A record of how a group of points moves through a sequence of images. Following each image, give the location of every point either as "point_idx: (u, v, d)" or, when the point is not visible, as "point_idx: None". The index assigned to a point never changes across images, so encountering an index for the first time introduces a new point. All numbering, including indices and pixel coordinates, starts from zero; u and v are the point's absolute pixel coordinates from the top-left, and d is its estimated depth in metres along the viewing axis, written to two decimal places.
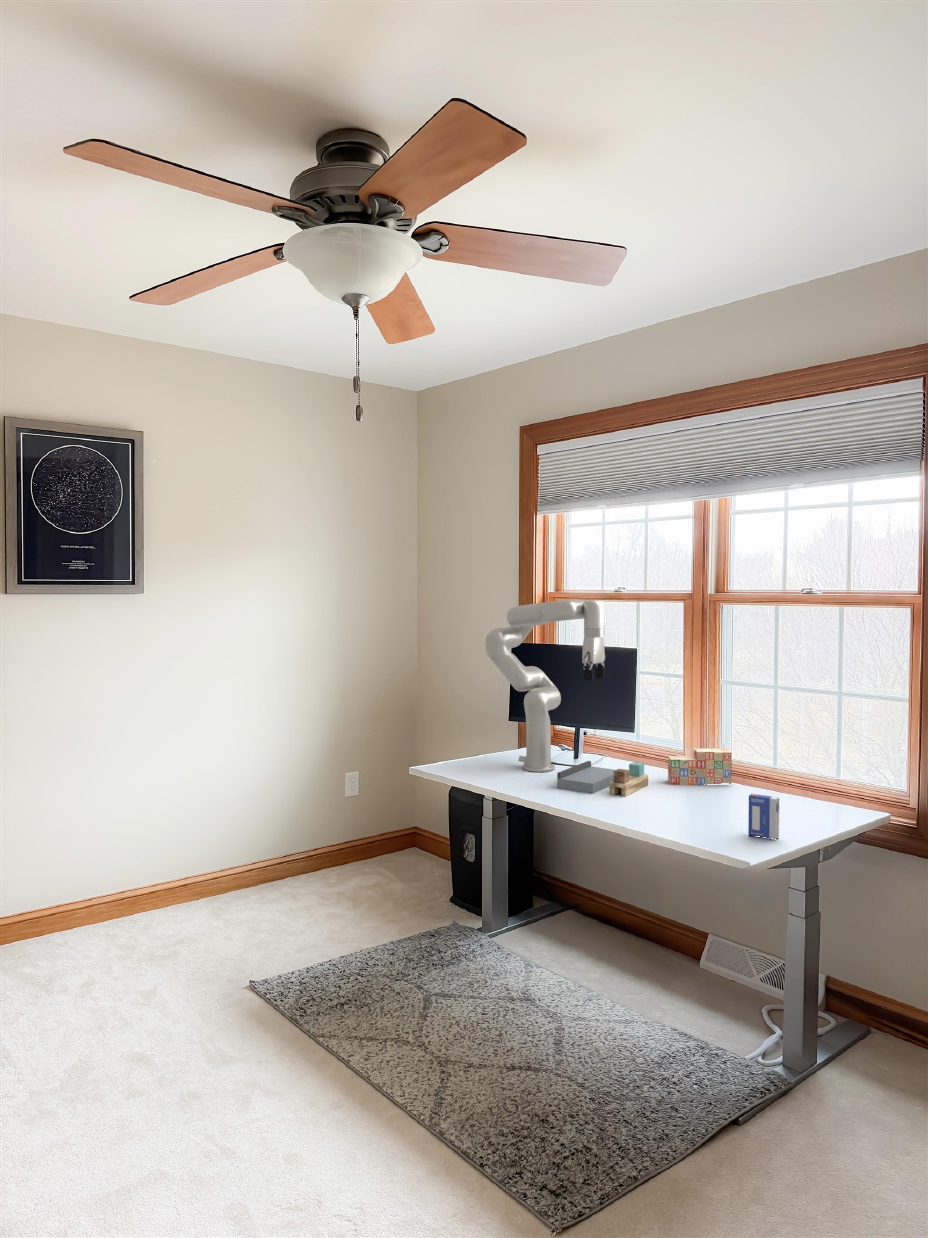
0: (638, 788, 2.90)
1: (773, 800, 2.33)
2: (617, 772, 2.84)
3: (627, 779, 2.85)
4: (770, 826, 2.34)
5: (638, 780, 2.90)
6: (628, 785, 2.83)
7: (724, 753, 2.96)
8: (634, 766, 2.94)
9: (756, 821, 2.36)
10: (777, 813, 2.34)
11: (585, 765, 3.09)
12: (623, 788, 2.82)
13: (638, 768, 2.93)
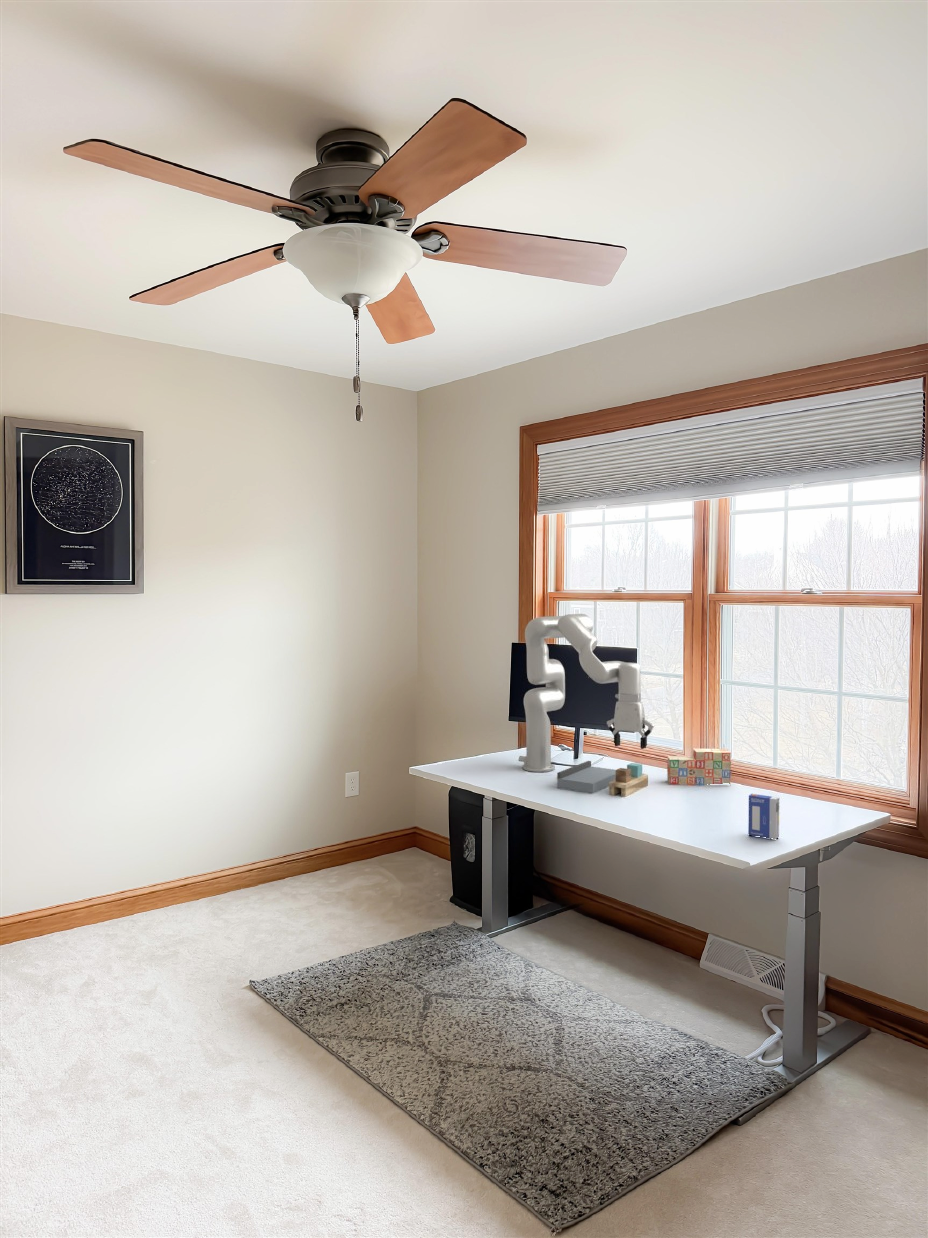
0: (638, 788, 2.90)
1: (773, 800, 2.33)
2: (619, 771, 2.86)
3: (629, 778, 2.86)
4: (770, 826, 2.34)
5: (638, 780, 2.90)
6: (628, 785, 2.83)
7: (723, 753, 2.96)
8: (632, 767, 2.93)
9: (756, 821, 2.36)
10: (777, 813, 2.34)
11: (585, 765, 3.09)
12: (623, 788, 2.82)
13: (636, 768, 2.92)
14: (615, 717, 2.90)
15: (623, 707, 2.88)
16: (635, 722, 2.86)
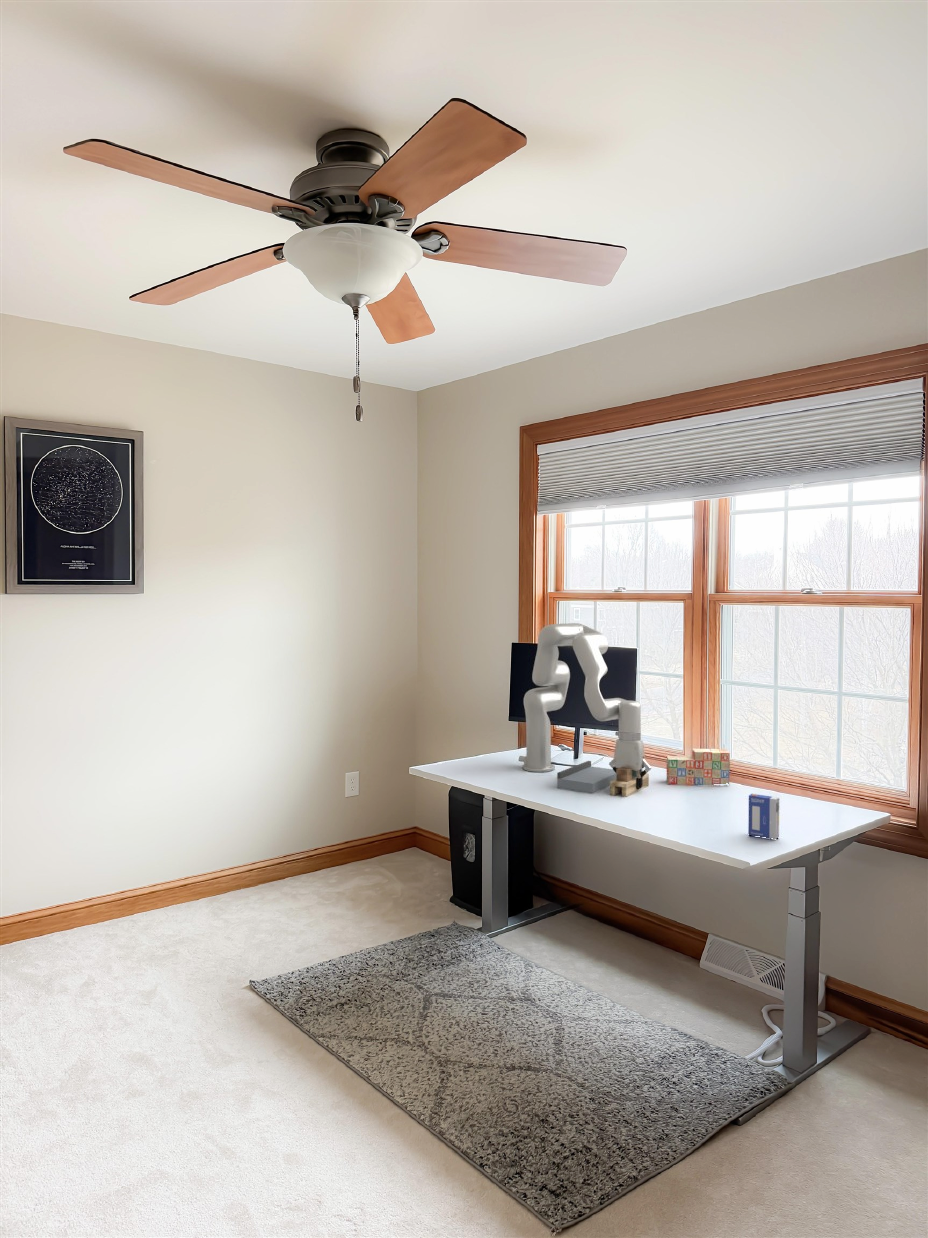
0: None
1: (773, 800, 2.33)
2: (620, 770, 2.86)
3: (630, 777, 2.86)
4: (770, 826, 2.34)
5: None
6: (628, 784, 2.83)
7: (722, 753, 2.95)
8: None
9: (756, 821, 2.36)
10: (777, 813, 2.34)
11: (585, 765, 3.09)
12: (623, 787, 2.82)
13: None
14: (615, 755, 2.91)
15: (623, 745, 2.89)
16: (635, 761, 2.87)
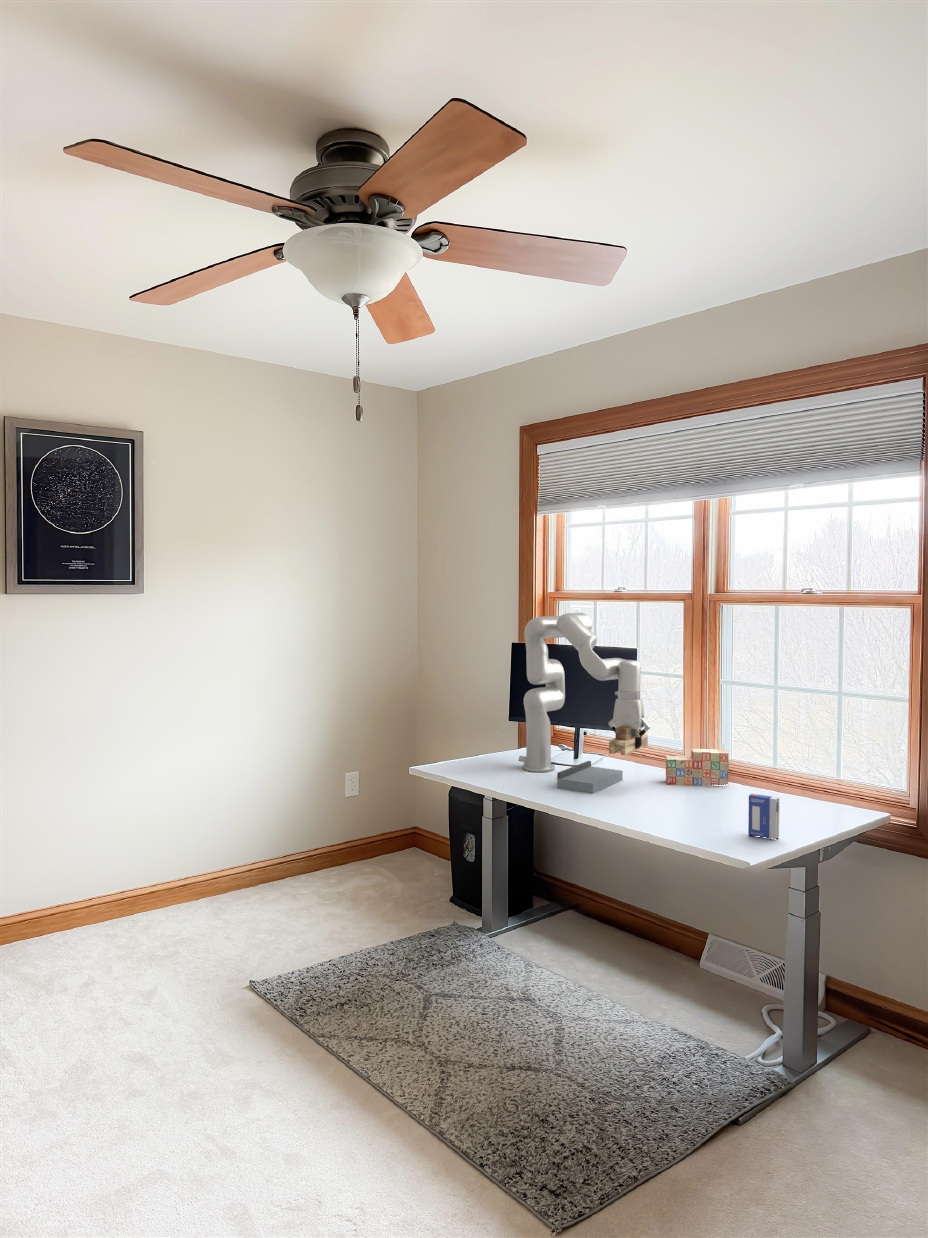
0: None
1: (773, 800, 2.33)
2: (619, 729, 2.85)
3: (629, 736, 2.86)
4: (770, 826, 2.34)
5: None
6: (628, 743, 2.83)
7: (721, 754, 2.95)
8: None
9: (756, 821, 2.36)
10: (777, 813, 2.34)
11: (585, 765, 3.09)
12: (622, 746, 2.82)
13: None
14: (614, 714, 2.91)
15: (623, 704, 2.88)
16: (634, 720, 2.86)
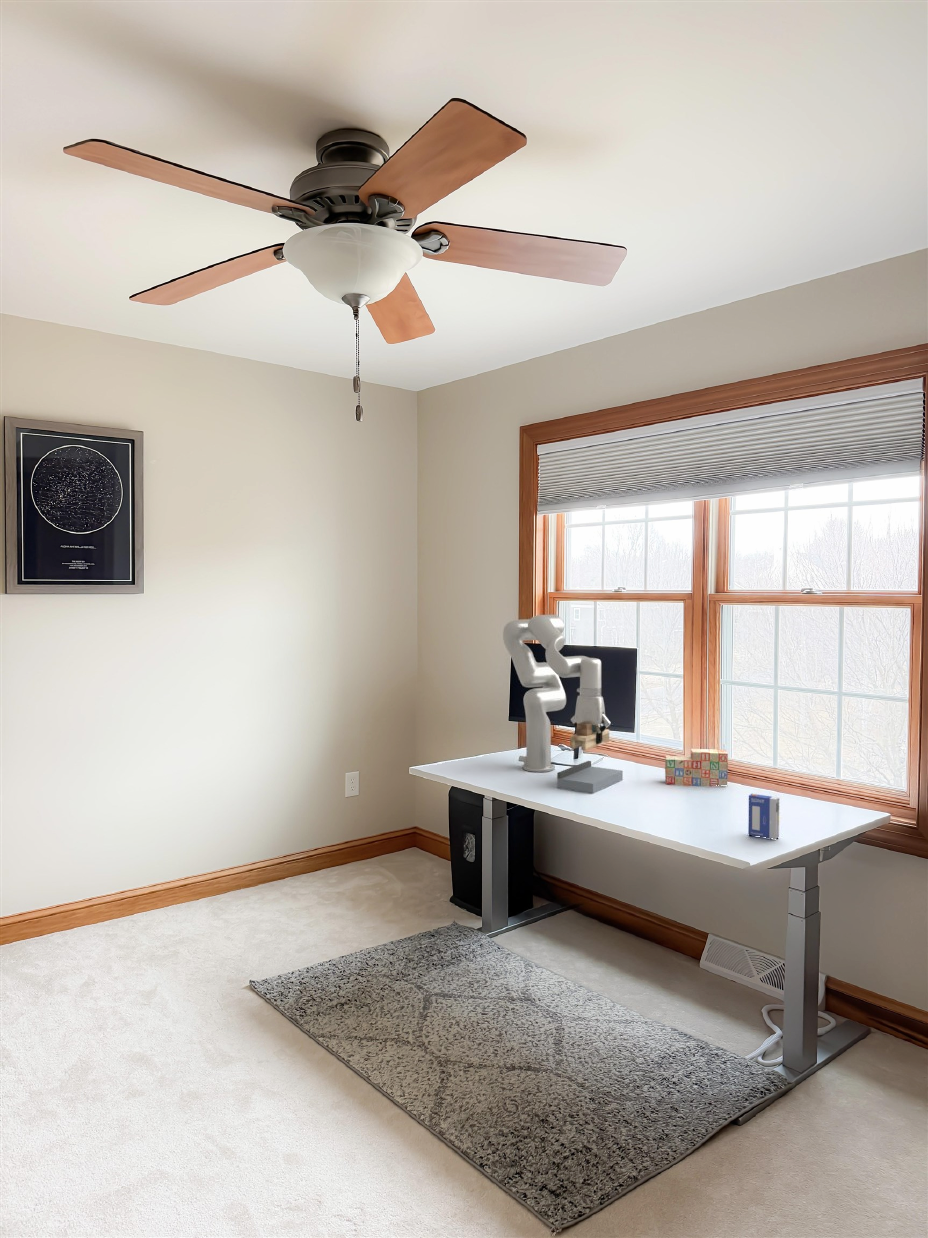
0: None
1: (773, 800, 2.33)
2: (580, 725, 2.94)
3: (590, 732, 2.94)
4: (770, 826, 2.34)
5: None
6: (588, 738, 2.91)
7: (720, 754, 2.94)
8: None
9: (756, 821, 2.36)
10: (777, 813, 2.34)
11: (585, 765, 3.09)
12: (583, 741, 2.90)
13: None
14: (576, 711, 2.99)
15: (584, 701, 2.97)
16: (595, 716, 2.95)
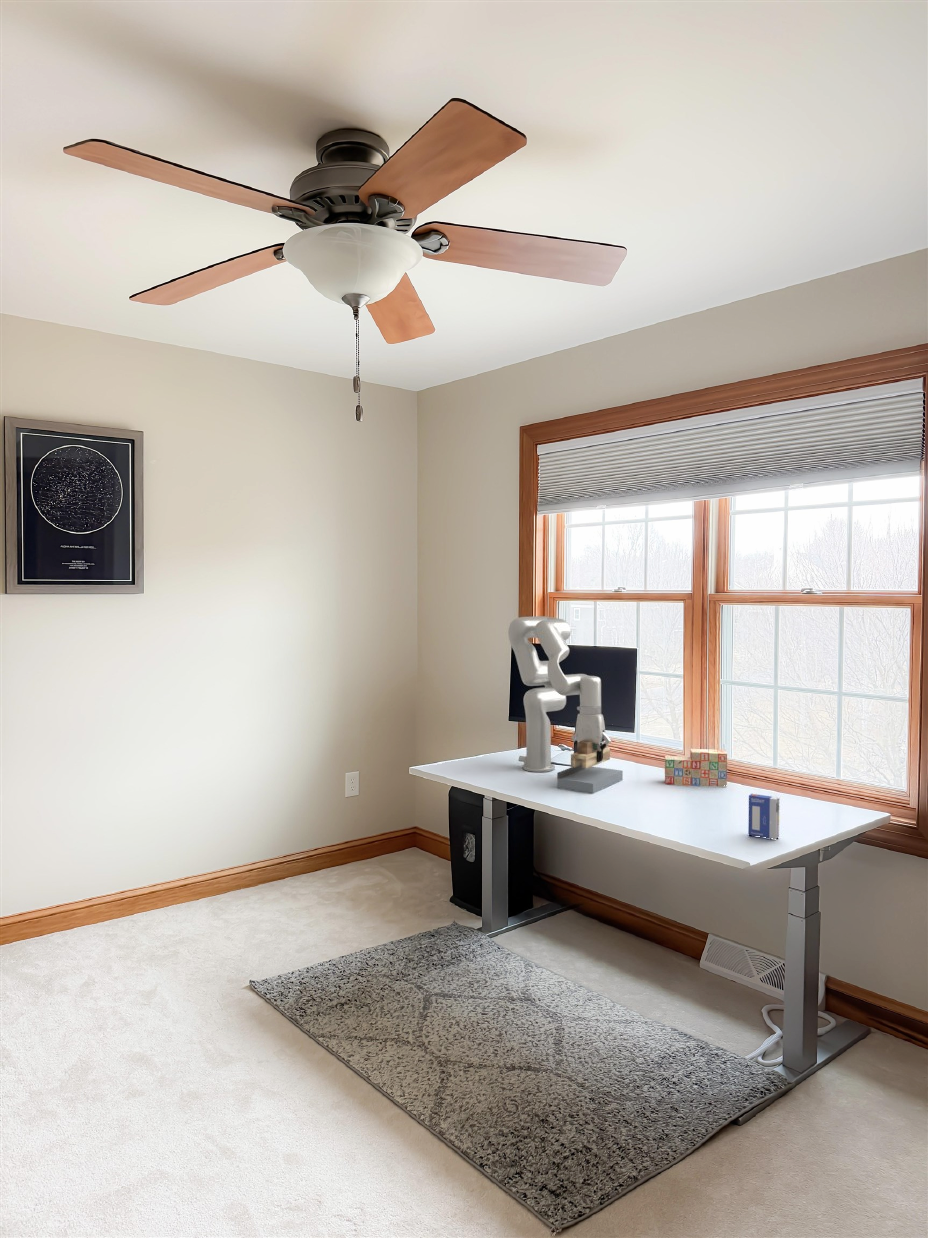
0: None
1: (773, 800, 2.33)
2: (580, 743, 2.94)
3: (590, 750, 2.95)
4: (770, 826, 2.34)
5: None
6: (588, 756, 2.91)
7: (719, 754, 2.94)
8: None
9: (756, 821, 2.36)
10: (777, 813, 2.34)
11: None
12: (583, 759, 2.90)
13: None
14: (576, 729, 2.99)
15: (584, 719, 2.97)
16: (595, 734, 2.95)
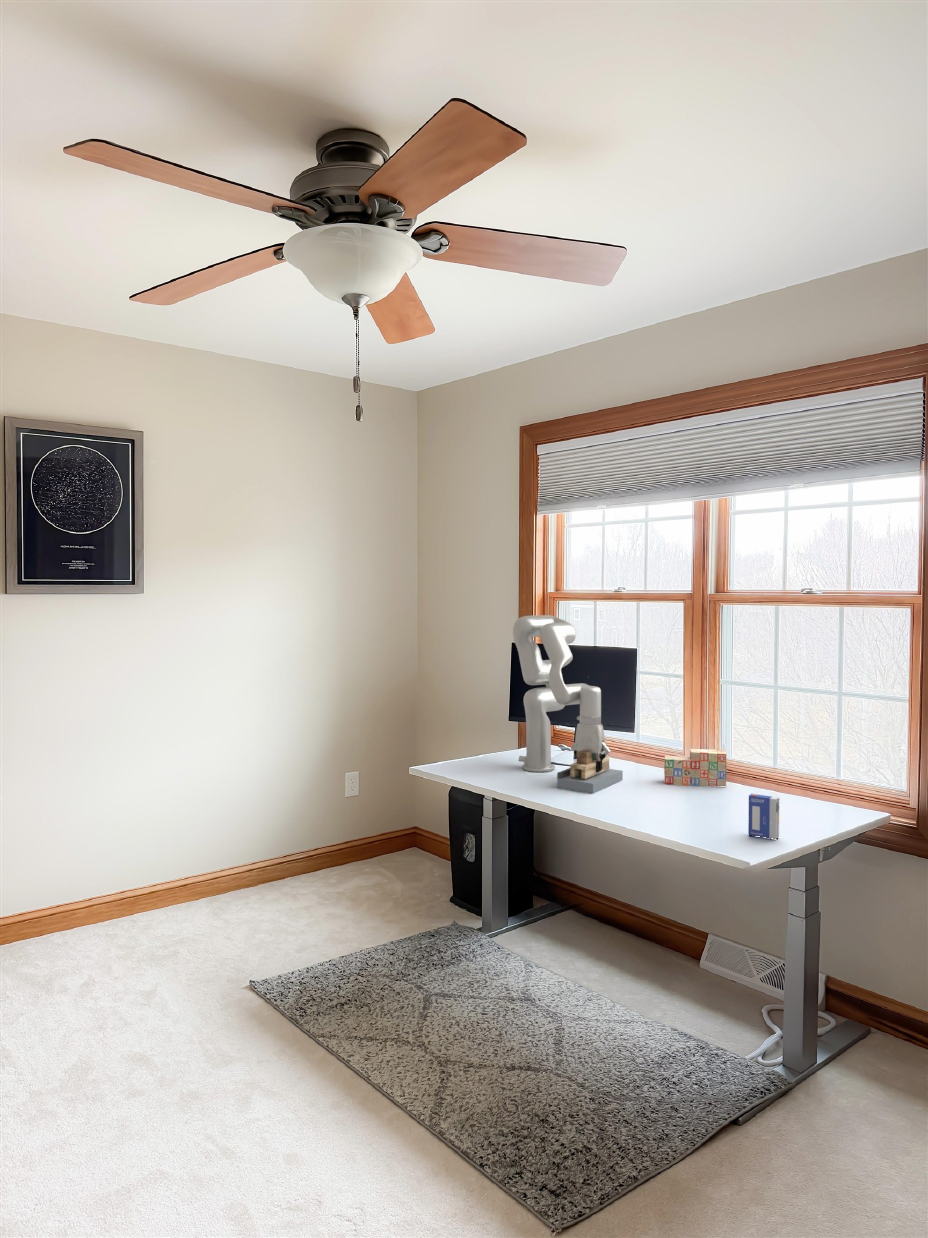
0: None
1: (773, 800, 2.33)
2: (580, 753, 2.94)
3: (589, 760, 2.95)
4: (770, 826, 2.34)
5: None
6: (588, 767, 2.92)
7: (719, 754, 2.94)
8: None
9: (756, 821, 2.36)
10: (777, 813, 2.34)
11: None
12: (583, 770, 2.91)
13: None
14: (576, 739, 3.00)
15: (584, 729, 2.97)
16: (595, 744, 2.95)
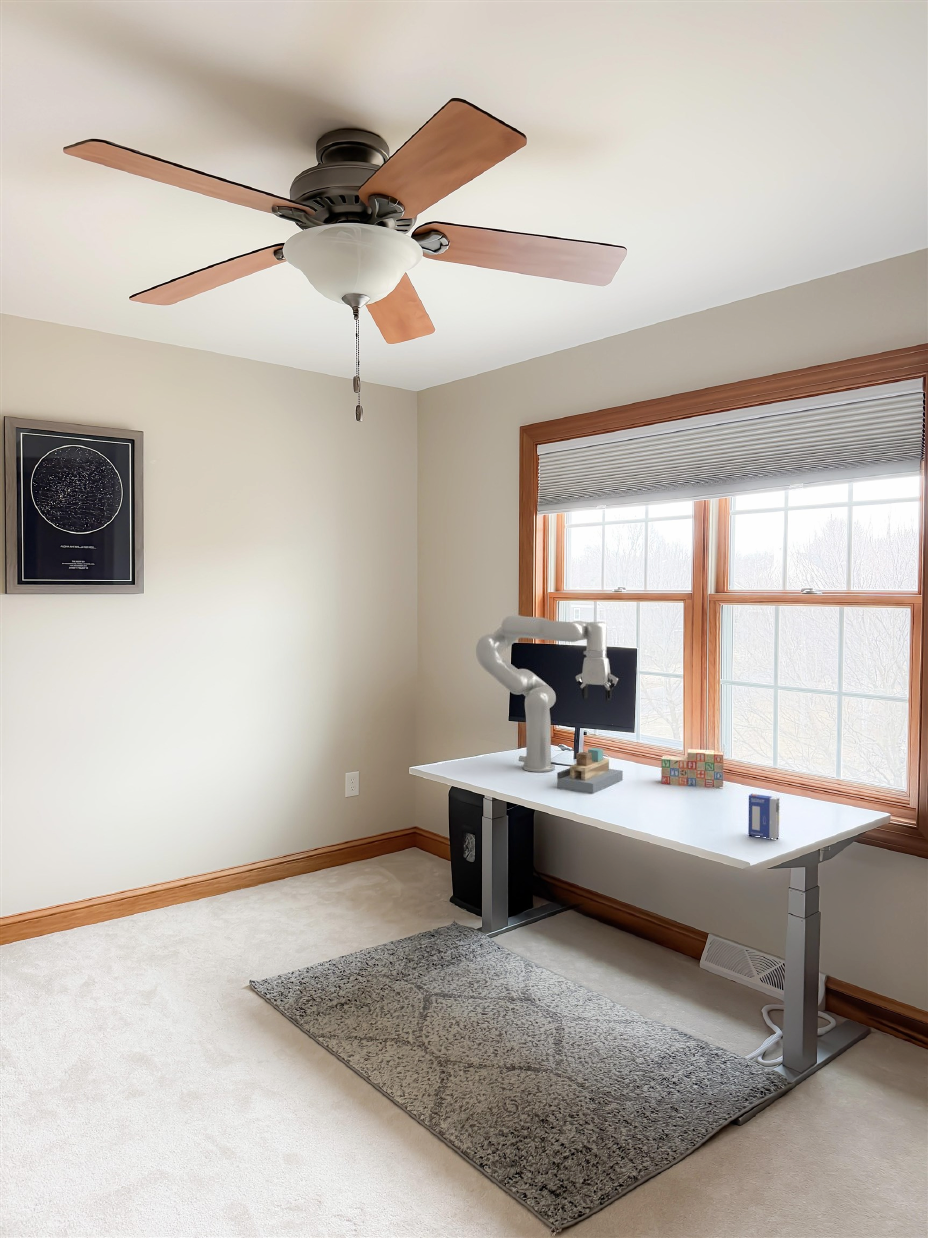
0: (598, 772, 2.99)
1: (773, 800, 2.33)
2: (580, 755, 2.94)
3: (589, 762, 2.95)
4: (770, 826, 2.34)
5: (598, 764, 2.99)
6: (588, 768, 2.92)
7: (715, 755, 2.93)
8: (593, 751, 3.02)
9: (756, 821, 2.36)
10: (777, 813, 2.34)
11: None
12: (583, 771, 2.91)
13: (597, 753, 3.01)
14: (583, 671, 3.16)
15: (590, 662, 3.14)
16: (601, 676, 3.12)
